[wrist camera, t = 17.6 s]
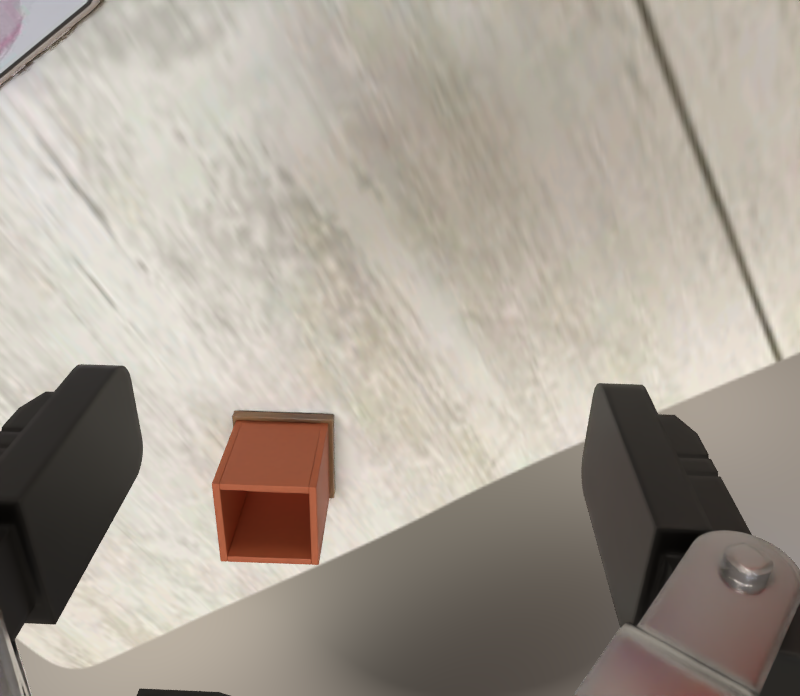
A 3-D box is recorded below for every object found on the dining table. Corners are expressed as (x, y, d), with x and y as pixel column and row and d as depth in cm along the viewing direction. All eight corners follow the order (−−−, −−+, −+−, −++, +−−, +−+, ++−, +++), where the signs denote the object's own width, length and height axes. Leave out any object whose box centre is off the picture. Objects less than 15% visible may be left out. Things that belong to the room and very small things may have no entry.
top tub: (328, 423, 44) (316, 487, 39) (329, 495, 47) (318, 565, 41) (236, 419, 44) (211, 483, 39) (242, 492, 47) (220, 561, 41)
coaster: (333, 414, 44) (332, 419, 44) (335, 492, 47) (333, 498, 47) (234, 410, 44) (231, 415, 44) (241, 489, 47) (239, 495, 47)
